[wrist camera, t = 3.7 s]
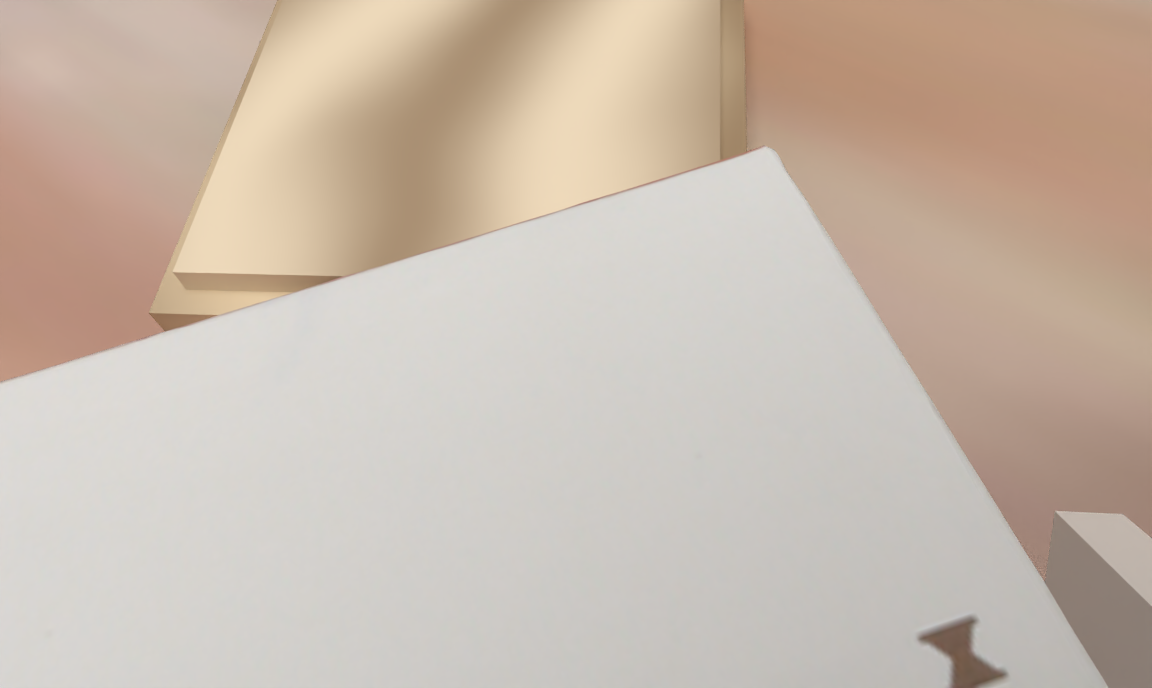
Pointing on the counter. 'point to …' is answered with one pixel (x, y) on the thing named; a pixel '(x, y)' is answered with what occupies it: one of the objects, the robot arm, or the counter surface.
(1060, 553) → the robot arm
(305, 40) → the podium
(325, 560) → the small box
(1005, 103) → the counter surface
